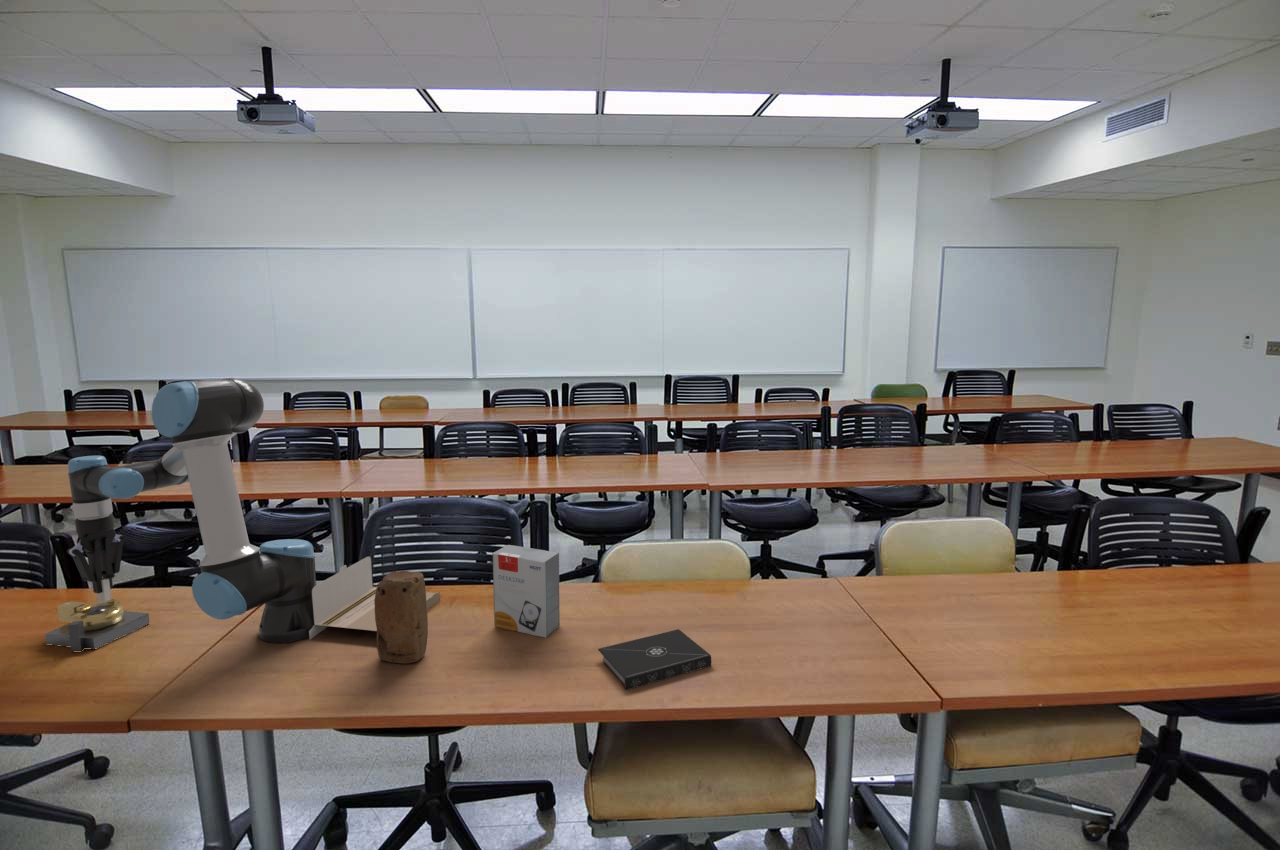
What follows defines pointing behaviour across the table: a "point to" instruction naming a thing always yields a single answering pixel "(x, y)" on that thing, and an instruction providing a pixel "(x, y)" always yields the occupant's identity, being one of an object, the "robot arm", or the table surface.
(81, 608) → the brass ring with ball
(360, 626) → the box
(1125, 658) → the table surface
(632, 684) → the book
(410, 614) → the block
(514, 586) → the hard drive box
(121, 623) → the housing
